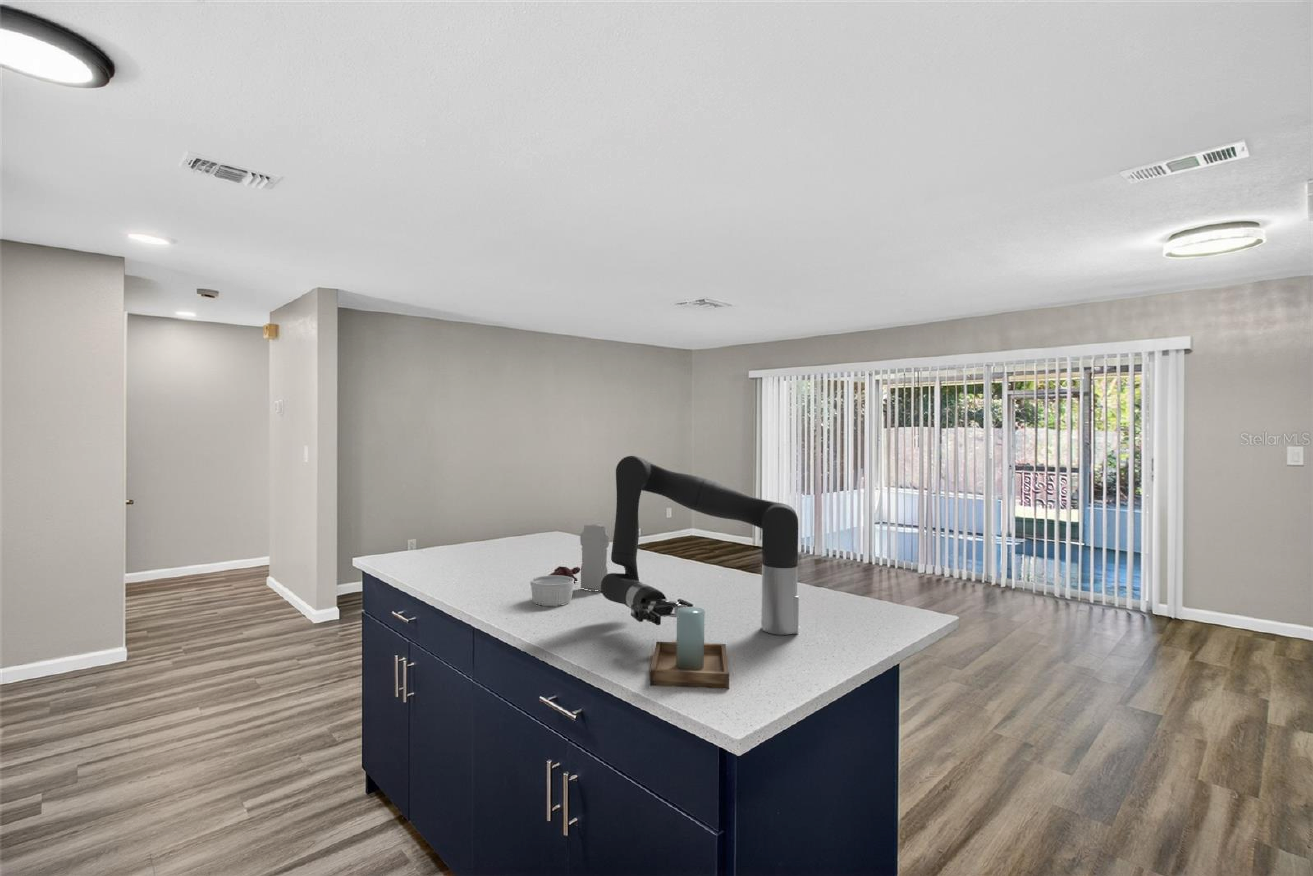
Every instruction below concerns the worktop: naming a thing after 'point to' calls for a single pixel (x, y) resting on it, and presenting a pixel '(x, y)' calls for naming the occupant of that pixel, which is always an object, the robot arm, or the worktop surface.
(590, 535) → the tall pale column
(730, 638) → the worktop surface
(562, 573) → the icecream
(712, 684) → the tray
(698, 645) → the pale blue cylinder
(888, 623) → the worktop surface
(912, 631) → the worktop surface
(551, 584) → the ramekin
